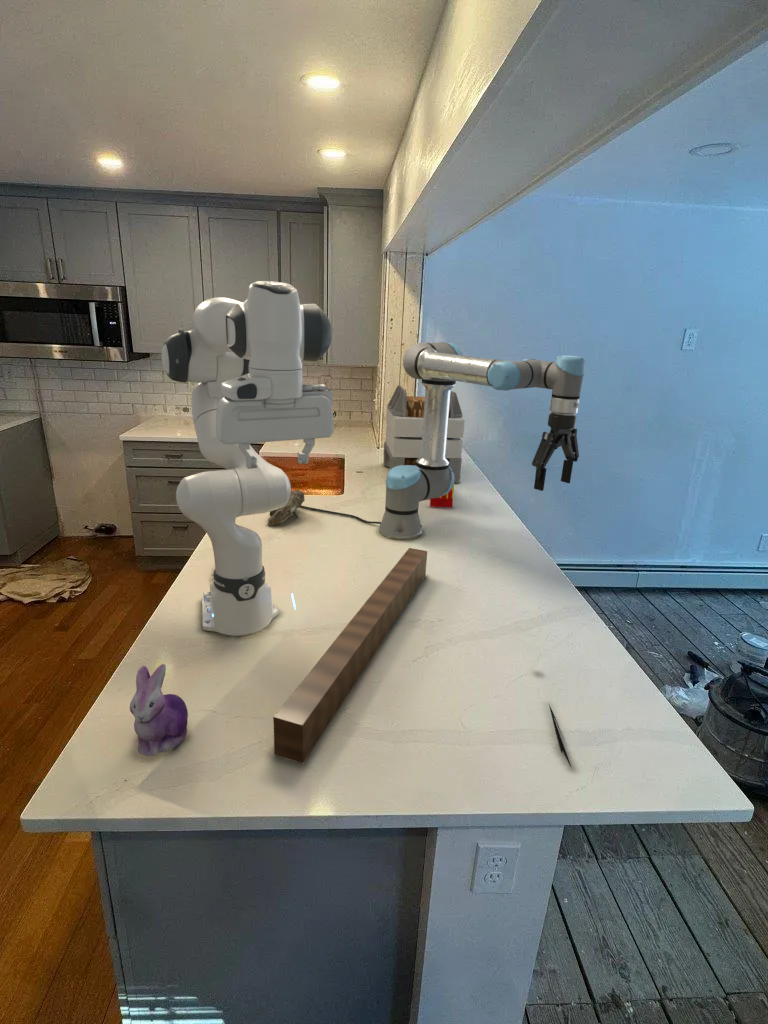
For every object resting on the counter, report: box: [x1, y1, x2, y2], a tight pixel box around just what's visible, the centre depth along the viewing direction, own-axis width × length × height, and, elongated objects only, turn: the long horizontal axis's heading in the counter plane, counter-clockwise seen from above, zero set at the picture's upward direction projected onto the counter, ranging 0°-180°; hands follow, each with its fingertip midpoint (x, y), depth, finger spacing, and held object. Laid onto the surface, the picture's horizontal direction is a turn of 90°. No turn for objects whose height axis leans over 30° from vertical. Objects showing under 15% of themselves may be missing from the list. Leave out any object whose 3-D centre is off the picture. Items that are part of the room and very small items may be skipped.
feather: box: [548, 702, 572, 767], centre depth 112 cm, size 2×28×2 cm
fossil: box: [267, 489, 305, 527], centre depth 209 cm, size 22×10×15 cm
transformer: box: [383, 384, 465, 484], centre depth 268 cm, size 34×33×41 cm
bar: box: [272, 547, 428, 764], centre depth 133 cm, size 80×6×8 cm, turn 161°
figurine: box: [129, 663, 189, 757], centre depth 99 cm, size 9×10×15 cm
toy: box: [429, 483, 455, 508], centre depth 239 cm, size 12×13×30 cm
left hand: (277, 465), depth 100 cm, fingers open, 8 cm apart
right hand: (552, 485), depth 166 cm, fingers open, 13 cm apart
